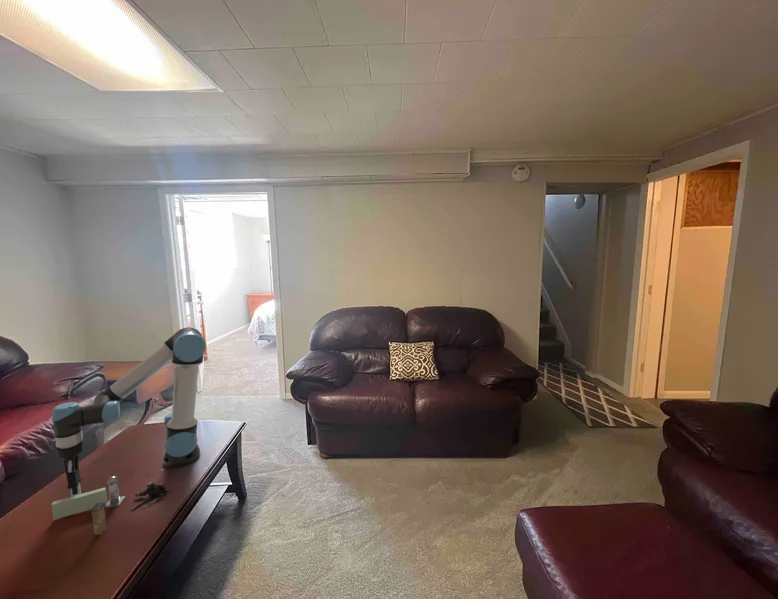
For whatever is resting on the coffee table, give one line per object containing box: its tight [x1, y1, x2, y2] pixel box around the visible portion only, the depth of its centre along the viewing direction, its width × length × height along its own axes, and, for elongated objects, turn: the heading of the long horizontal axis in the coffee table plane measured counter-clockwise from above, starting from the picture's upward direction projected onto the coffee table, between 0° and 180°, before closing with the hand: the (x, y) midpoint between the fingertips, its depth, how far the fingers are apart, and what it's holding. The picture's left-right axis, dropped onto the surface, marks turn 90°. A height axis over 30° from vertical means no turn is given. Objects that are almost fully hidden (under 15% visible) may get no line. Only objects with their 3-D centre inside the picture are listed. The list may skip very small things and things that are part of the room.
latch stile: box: [90, 502, 107, 536], centre depth 120 cm, size 2×3×10 cm
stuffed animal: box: [130, 480, 170, 511], centre depth 138 cm, size 12×10×12 cm
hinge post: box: [104, 475, 126, 509], centre depth 134 cm, size 5×5×11 cm
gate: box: [51, 486, 108, 521], centre depth 129 cm, size 15×2×6 cm, turn 123°
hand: (76, 500), depth 133 cm, fingers closed
